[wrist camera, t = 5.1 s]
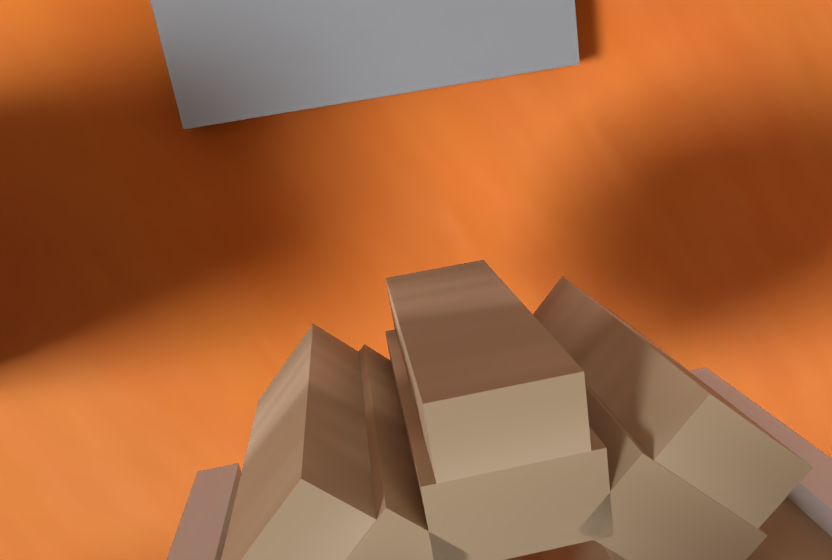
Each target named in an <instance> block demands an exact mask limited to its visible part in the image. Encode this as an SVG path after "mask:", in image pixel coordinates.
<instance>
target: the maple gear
mask: <svg viewBox="0 0 832 560" xmlns="http://www.w3.org/2000/svg"><path fill="white" fill-rule="evenodd" d="M386 282H387V288H388V293H389V299H390V305H391V310H392V316H393V321H394V327H395V330H390V331H385V332H386V338H387V343H388V349H389V354H390V360H391V361H390V360H389V359H387V358H385V357H384V356H382V355H381V354H379V353H377V352H376V351H374V350H373V349H371V348H369V347H368V346H366V345H365V344H364V346H363V347H362V348H361V350H360V351H359V352H358V351H356V350H355V349H353V348H351V347H350V346H348V345H347V344H345V343H343V342H342V341H340V340H339V339H337V338H335V337H334V336H332V335H330V334H329V333H327V332H326V331H324V330H322V329H321V328H319V327H317V326H316V325H314V324H312V326H311V327H310V329H309V330H308V331H307V333H306V334H305V336H304V337H303V339H302V340H301V341H300V343H299V344H298V346H297V347H296V348H295V350H294V351H293V353H292V354H291V355H290V357H289V358H288V360H287V361H286V362H285V364H284V365H283V367H282V368H281V369H280V371H279V372H278V374H277V375H276V377H275V378H274V379H273V381H272V382H271V384H270V385H269V386H268V388H267V389H266V391H265V392H264V393H263V395H262V396H261V398H260V399H259V400H258V405H257V409H256V413H255V417H254V422H253V426H252V430H251V434H250V439H249V443H248V447H247V451H246V456H245V460H244V464H243V468H242V473H241V477H240V481H239V486H238V490H237V494H236V498H235V503H234V507H233V511H232V515H231V520H230V524H229V528H228V532H227V537H226V541H225V545H224V549H223V554H222V558H221V560H832V537H831V536H830V535H829V534H828V533H827V532H826V531H825V530H824V529H822V528H821V527H820V526H819V525H818V524H817V523H816V522H814V521H813V520H812V519H811V518H810V517H809V516H808V515H807V514H805V513H804V512H803V511H802V510H801V509H800V508H799V507H798V506H796V505H795V504H794V503H793V502H792V501H791V500H790V499H789V498H787V496H788V495H789V494H790V493H791V492H792V491H793V489H794V488H795V487H796V486H797V485H798V484H799V483H800V482H801V480H802V479H803V478H804V477H805V476H806V475H807V474H808V473H809V472H810V470H811V469H812V468H813V467H812V466H810V465H809V464H808V463H807V462H805V461H804V460H803V459H801V458H800V457H799V456H798V455H796V454H795V453H794V452H792V451H791V450H790V449H789V448H787V447H786V446H785V445H783V444H782V443H781V442H780V441H778V440H777V439H776V438H774V437H773V436H772V435H771V434H769V433H768V432H767V431H766V430H764V429H763V428H762V427H760V426H759V425H758V424H757V423H755V422H754V421H753V420H751V419H750V418H749V417H748V416H746V415H745V414H744V413H742V412H741V411H740V410H739V409H737V408H736V407H735V406H733V405H732V404H731V403H730V402H728V401H727V400H726V399H724V398H723V397H722V396H721V395H719V394H718V393H717V392H715V391H714V390H713V389H712V388H710V387H709V386H708V385H706V384H705V383H704V382H703V381H701V380H700V379H699V378H698V377H696V376H695V375H694V374H692V373H691V372H690V371H689V370H687V369H686V368H685V367H683V366H682V365H681V364H680V363H678V362H677V361H676V360H674V359H673V358H672V357H671V356H669V355H668V354H667V353H665V352H664V351H663V350H662V349H660V348H659V347H658V346H656V345H655V344H654V343H653V342H651V341H650V340H649V339H647V338H646V337H645V336H644V335H642V334H641V333H640V332H638V331H637V330H636V329H635V328H633V327H632V326H631V325H629V324H628V323H627V322H625V321H624V320H622V319H621V318H620V317H618V316H617V315H615V314H614V313H613V312H611V311H610V310H609V309H607V308H606V307H604V306H603V305H602V304H600V303H599V302H597V301H596V300H595V299H593V298H592V297H591V296H589V295H588V294H586V293H585V292H584V291H582V290H581V289H580V288H578V287H577V286H575V285H574V284H573V283H571V282H570V281H568V280H567V279H566V278H564V277H563V276H562V278H561V279H560V280H559V282H558V283H557V284H556V285H555V287H554V288H553V289H552V291H551V292H550V293H549V294H548V296H547V297H546V298H545V300H544V301H543V302H542V304H541V305H540V306H539V307H538V309H537V310H536V311H535V313H534V314H532V313H531V312H530V311H529V310H528V309H527V308H526V307H525V305H524V304H523V303H522V302H521V301H520V300H519V299H518V298H517V297H516V296H515V294H514V293H513V292H512V291H511V290H510V289H509V288H508V287H507V286H506V284H505V283H504V282H503V281H502V280H501V279H500V278H499V277H498V276H497V275H496V273H495V272H494V271H493V270H492V269H491V268H490V267H489V266H488V265H487V264H486V262H485V261H484V260H481V261H475V262H470V263H465V264H459V265H454V266H449V267H443V268H438V269H432V270H427V271H422V272H416V273H411V274H406V275H400V276H395V277H390V278H386Z"/></svg>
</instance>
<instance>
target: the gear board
mask: <svg viewBox="0 0 832 560" xmlns="http://www.w3.org/2000/svg"><path fill="white" fill-rule="evenodd" d="M150 1H151V5H152V9H153V13H154V17H155V21H156V25H157V29H158V33H159V37H160V41H161V44H162V48H163V52H164V56H165V60H166V64H167V68H168V72H169V76H170V80H171V84H172V88H173V92H174V95H175V99H176V103H177V107H178V111H179V115H180V119H181V123H182V127H183V130H184V129H190V128H196V127H202V126H208V125H214V124H220V123H226V122H232V121H238V120H244V119H250V118H256V117H262V116H268V115H274V114H281V113H287V112H293V111H299V110H305V109H311V108H317V107H323V106H329V105H335V104H341V103H347V102H353V101H359V100H365V99H371V98H378V97H384V96H390V95H396V94H402V93H408V92H414V91H420V90H426V89H432V88H438V87H444V86H450V85H456V84H462V83H468V82H474V81H481V80H487V79H493V78H499V77H505V76H511V75H517V74H523V73H529V72H535V71H541V70H547V69H553V68H559V67H565V66H571V65H577V64H580V61H579V48H578V35H577V23H576V10H575V0H150Z"/></svg>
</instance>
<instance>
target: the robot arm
mask: <svg viewBox="0 0 832 560" xmlns="http://www.w3.org/2000/svg"><path fill="white" fill-rule="evenodd" d="M690 372H691V373H692V374H694V375H695V376H696V377H698V378H699V379H700V380H701V381H703V382H704V383H705V384H706V385H708V386H709V387H710V388H712V389H713V390H714V391H715V392H717V393H718V394H719V395H721V396H722V397H723V398H724V399H726V400H727V401H728V402H730V403H731V404H732V405H733V406H735V407H736V408H737V409H739V410H740V411H741V412H742V413H744V414H745V415H746V416H748V417H749V418H750V419H751V420H753V421H754V422H755V423H757V424H758V425H759V426H760V427H762V428H763V429H764V430H766V431H767V432H768V433H769V434H771V435H772V436H773V437H774V438H776V439H777V440H778V441H780V442H781V443H782V444H783V445H785V446H786V447H787V448H789V449H790V450H791V451H792V452H794V453H795V454H796V455H798V456H799V457H800V458H801V459H803V460H804V461H805V462H807V463H808V464H809V465H810V466H812V467H813V468H812V469H811V470H810V472H809V473H808V474H807V475H806V476H805V477H804V478H803V479H802V480H801V482H800V483H799V484H798V485H797V486H796V487H795V488H794V489H793V491H792V492H791V493H790V494H789V495H788V496H787V498H789V499H790V500H791V501H792V502H793V503H794V504H795V505H796V506H798V507H799V508H800V509H801V510H802V511H803V512H804V513H805V514H807V515H808V516H809V517H810V518H811V519H812V520H813V521H814V522H816V523H817V524H818V525H819V526H820V527H821V528H822V529H824V530H825V531H826V532H827V533H828V534H829V535H830V536H831V537H832V459H831V458H830V457H829V456H827V455H826V454H824V453H823V452H822V451H820V450H819V449H818V448H816V447H815V446H813V445H812V444H811V443H809V442H808V441H807V440H805V439H804V438H802V437H801V436H800V435H798V434H797V433H796V432H794V431H793V430H791V429H790V428H789V427H787V426H786V425H784V424H783V423H782V422H780V421H779V420H778V419H776V418H775V417H773V416H772V415H771V414H769V413H768V412H767V411H765V410H764V409H762V408H761V407H760V406H758V405H757V404H756V403H754V402H753V401H751V400H750V399H749V398H747V397H746V396H745V395H743V394H742V393H740V392H739V391H738V390H736V389H735V388H734V387H732V386H731V385H729V384H728V383H727V382H725V381H724V380H723V379H721V378H720V377H718V376H717V375H716V374H714V373H713V372H712V371H710V370H709V369H707V368H701V369H697V370H692V371H690ZM240 477H241V470H240V467H239V463H237V464H232V465H228V466H223V467H218V468H213V469H208V470H203V471H198V472H197V475H196V478H195V481H194V484H193V486H192V489H191V492H190V495H189V498H188V501H187V504H186V506H185V509H184V512H183V515H182V518H181V521H180V523H179V526H178V529H177V532H176V535H175V538H174V541H173V543H172V546H171V549H170V552H169V555H168V558H167V560H221V558H222V554H223V549H224V545H225V541H226V537H227V532H228V528H229V524H230V520H231V515H232V511H233V507H234V503H235V498H236V494H237V490H238V486H239V481H240Z"/></svg>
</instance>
